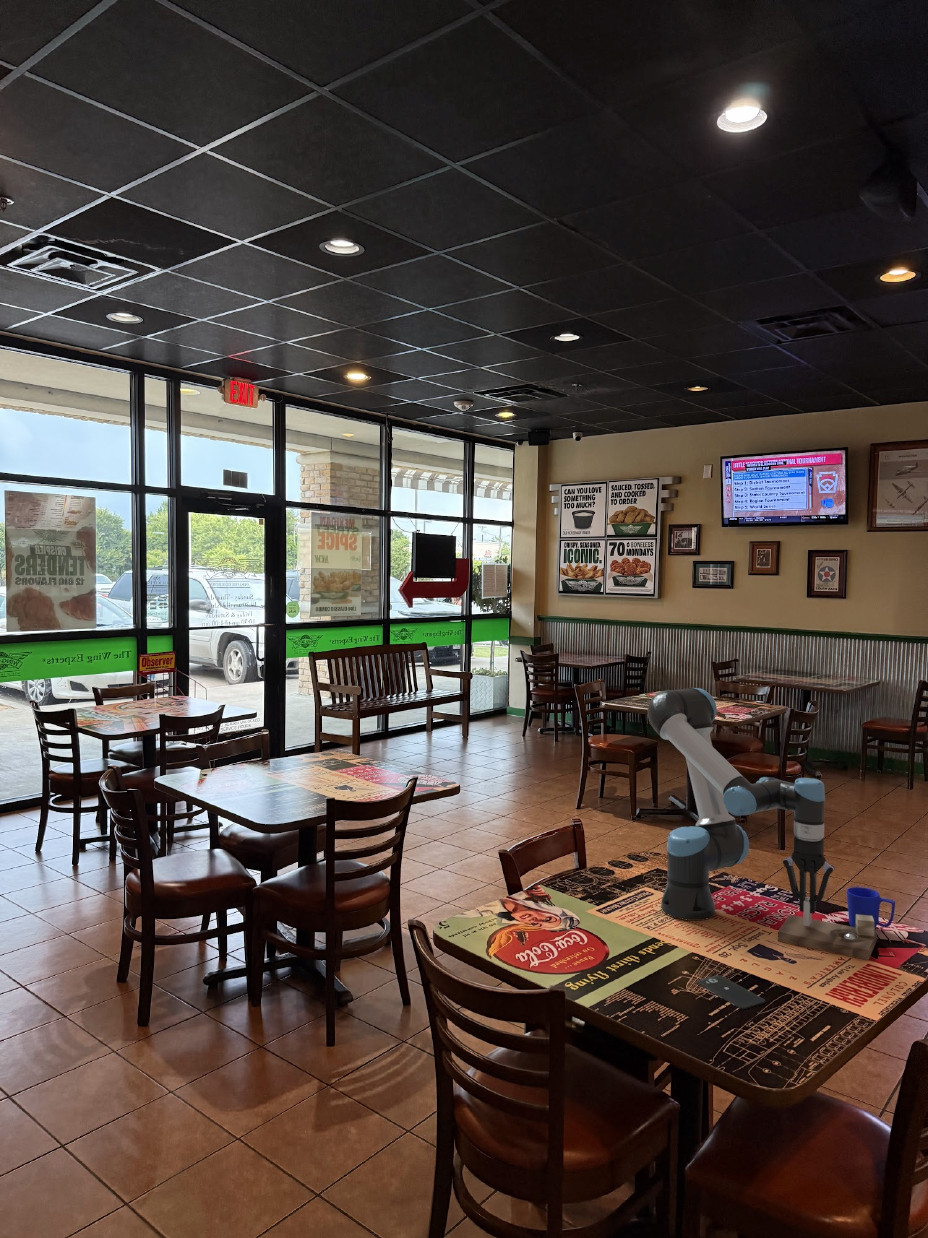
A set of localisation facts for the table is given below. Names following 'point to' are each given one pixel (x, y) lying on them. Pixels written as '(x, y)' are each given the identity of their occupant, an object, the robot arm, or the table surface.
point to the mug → (866, 905)
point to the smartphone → (731, 992)
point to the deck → (826, 937)
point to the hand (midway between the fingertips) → (807, 924)
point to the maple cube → (864, 925)
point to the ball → (849, 936)
